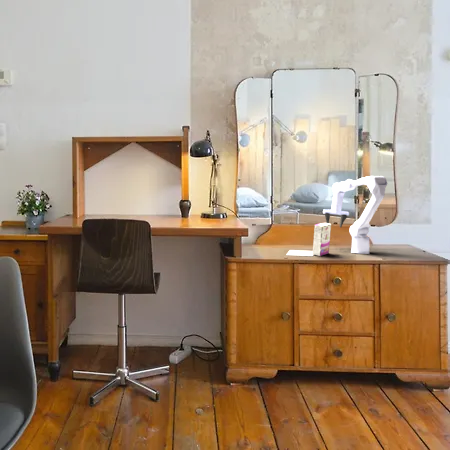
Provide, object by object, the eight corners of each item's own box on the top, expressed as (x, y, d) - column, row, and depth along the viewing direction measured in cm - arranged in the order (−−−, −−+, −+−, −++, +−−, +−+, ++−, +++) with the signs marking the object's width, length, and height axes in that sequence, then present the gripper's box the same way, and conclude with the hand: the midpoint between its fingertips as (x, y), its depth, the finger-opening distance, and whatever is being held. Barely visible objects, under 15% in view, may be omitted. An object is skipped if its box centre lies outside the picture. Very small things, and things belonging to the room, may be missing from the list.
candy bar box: (320, 251, 247) (323, 222, 245) (329, 253, 244) (331, 223, 242) (311, 254, 239) (314, 224, 236) (320, 256, 236) (323, 225, 233)
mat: (314, 251, 250) (314, 251, 250) (312, 256, 235) (312, 256, 235) (290, 250, 254) (290, 250, 254) (286, 255, 239) (286, 254, 239)
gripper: (348, 203, 262) (344, 225, 265) (323, 201, 262) (320, 223, 265) (351, 205, 255) (347, 228, 258) (325, 203, 255) (322, 226, 258)
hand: (333, 226), depth 261 cm, fingers open, 7 cm apart
